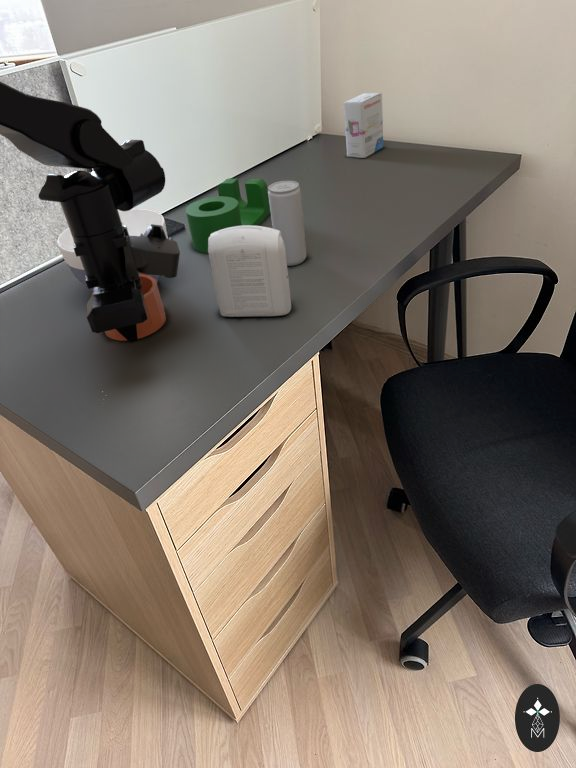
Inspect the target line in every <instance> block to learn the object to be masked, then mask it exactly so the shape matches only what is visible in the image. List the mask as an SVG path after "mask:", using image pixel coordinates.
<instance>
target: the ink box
mask: <svg viewBox="0 0 576 768" xmlns="http://www.w3.org/2000/svg"><path fill="white" fill-rule="evenodd" d="M343 111H344V114H343V115H344V126H345V127H344V128H345V142H346V144H345V145H346V157H350V158H358V159H359V158H360V159H365V158H367V157H369V156H371V155H373V154H374V153H376V152H378V151H380V150H381V149H383V148H384V122H383V121H384V120H383V119H384V118H383V93H381V92H364V93H362V94H359V95H357V96H355V97H352V98H349V99H348V100H346V101H344V102H343Z"/></svg>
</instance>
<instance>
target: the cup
mask: <svg viewBox="0 0 576 768" xmlns="http://www.w3.org/2000/svg"><path fill="white" fill-rule="evenodd" d="M139 277H140V278H141V283H142V288H141V289H140V291H143V295H144V303H145V306H146V312H147V318H148V319H147V320H146V321H144V322H143V323H139V324H136V325H137V336H138V340H139V339H142V338H146V337H148V336H151V334H154V333H156V332H157V331H158V330H160V329H161V328H162V326H163V325H165V323H166V319H167V315H166V311H165V307H164V303H163V300H162V296H161V293H160V289H159V285H158V282H156V279H154V278H153V277H151V276H149V275H144V274H139ZM92 295H94V291H92V293H91V296H92ZM104 335H106V337H107V338H109V339H111V340H114V341H121V342H122V341H123V342H125V341H127V342H128V340H127V339H125V338H124V337H123V336H122V335H121V334H120V333H119V332H118V331H117V330H116V329H113V330H109V331H105V332H104Z"/></svg>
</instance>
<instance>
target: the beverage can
mask: <svg viewBox="0 0 576 768" xmlns="http://www.w3.org/2000/svg"><path fill="white" fill-rule="evenodd" d="M267 189H268V196H269V204H270V212H271V213H270V219H271V225H272V227H271V228H273V229H276V230H279V231H280V232H281V235H282V239H283V241H284V245H285V252H286V261H287V267H289V266H290V267H293V266H297V265H300V264H302V263H304V261H305V260H306V258H307V247H306V246H307V245H306V236H305V225H304V224H305V223H304V213H303V202H302V193H301V188H300V184H299V182H298V181H295V180H279V181H276V182H273V183H271V184H270V185H268V186H267Z"/></svg>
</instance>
